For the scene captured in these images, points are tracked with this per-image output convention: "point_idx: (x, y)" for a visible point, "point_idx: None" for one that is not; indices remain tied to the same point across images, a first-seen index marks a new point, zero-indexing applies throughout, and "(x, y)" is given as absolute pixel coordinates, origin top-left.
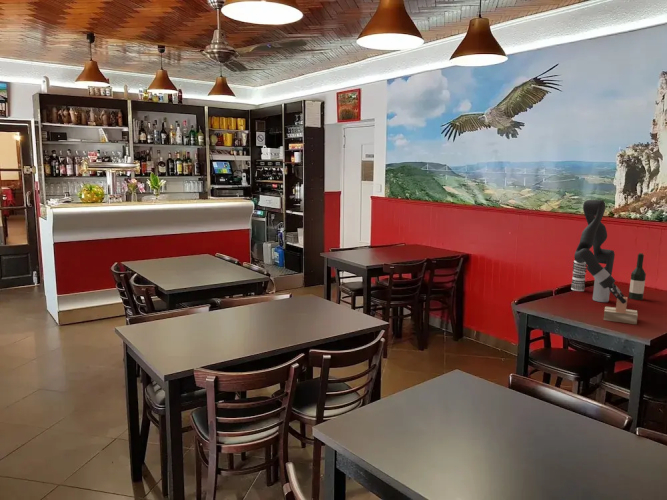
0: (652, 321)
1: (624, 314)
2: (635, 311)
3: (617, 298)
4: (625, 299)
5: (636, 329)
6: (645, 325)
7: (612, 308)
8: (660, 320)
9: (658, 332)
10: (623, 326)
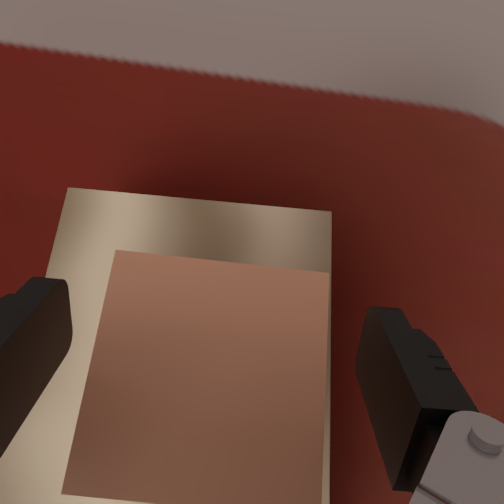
0: (125, 114)
1: (328, 350)
2: (130, 209)
3: (320, 502)
4: (325, 314)
5: (486, 269)
6: (298, 183)
7: (81, 500)
8: (62, 56)
9: (460, 125)
10: (459, 374)
